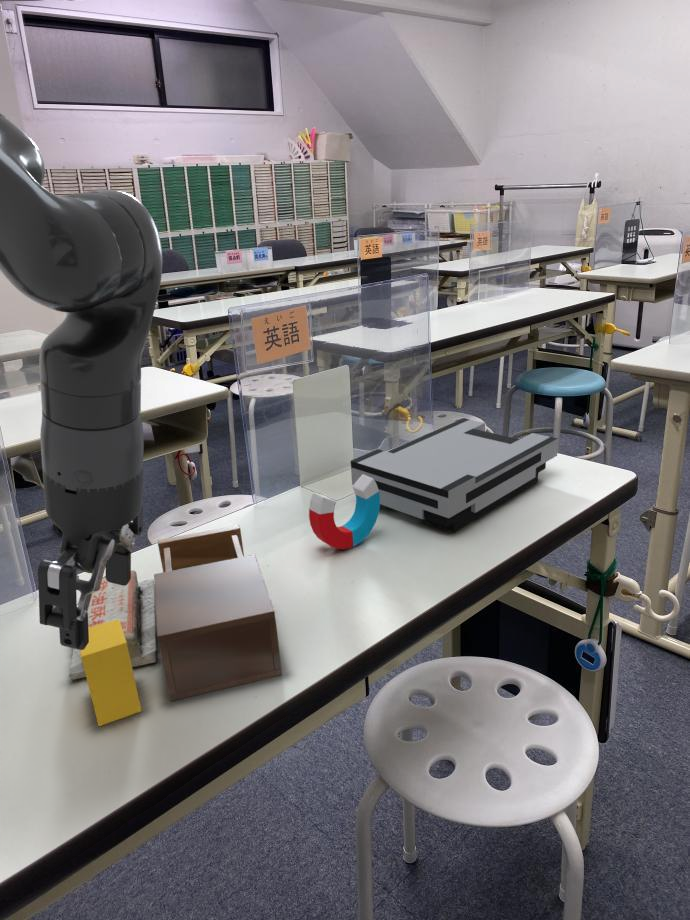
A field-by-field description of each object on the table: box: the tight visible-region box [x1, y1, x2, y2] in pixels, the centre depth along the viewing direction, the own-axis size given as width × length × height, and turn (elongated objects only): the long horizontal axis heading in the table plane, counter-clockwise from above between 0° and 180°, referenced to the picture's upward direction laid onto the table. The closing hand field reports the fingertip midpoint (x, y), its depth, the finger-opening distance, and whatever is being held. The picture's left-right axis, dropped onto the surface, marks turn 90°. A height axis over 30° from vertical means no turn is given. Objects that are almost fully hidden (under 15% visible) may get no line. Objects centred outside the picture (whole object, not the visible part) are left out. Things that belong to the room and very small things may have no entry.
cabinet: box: [153, 554, 283, 702], centre depth 81 cm, size 14×13×9 cm
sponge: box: [80, 619, 142, 727], centre depth 74 cm, size 4×5×9 cm
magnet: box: [308, 474, 381, 550], centre depth 104 cm, size 12×3×10 cm, turn 128°
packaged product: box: [69, 569, 157, 680], centre depth 88 cm, size 18×5×10 cm
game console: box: [350, 417, 559, 534], centre depth 121 cm, size 21×32×8 cm, turn 134°
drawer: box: [157, 525, 245, 573], centre depth 94 cm, size 17×11×7 cm
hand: (97, 611), depth 62 cm, fingers open, 8 cm apart
